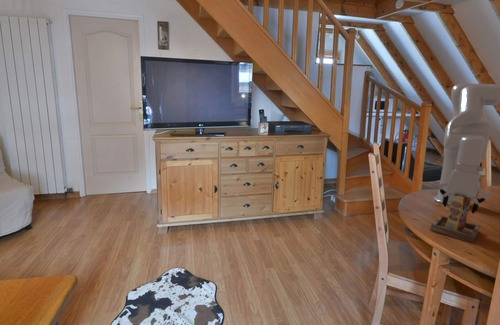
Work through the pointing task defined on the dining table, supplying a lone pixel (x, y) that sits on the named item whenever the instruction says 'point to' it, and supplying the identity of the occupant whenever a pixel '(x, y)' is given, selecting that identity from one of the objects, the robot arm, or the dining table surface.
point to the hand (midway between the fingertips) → (458, 209)
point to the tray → (464, 234)
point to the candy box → (458, 212)
